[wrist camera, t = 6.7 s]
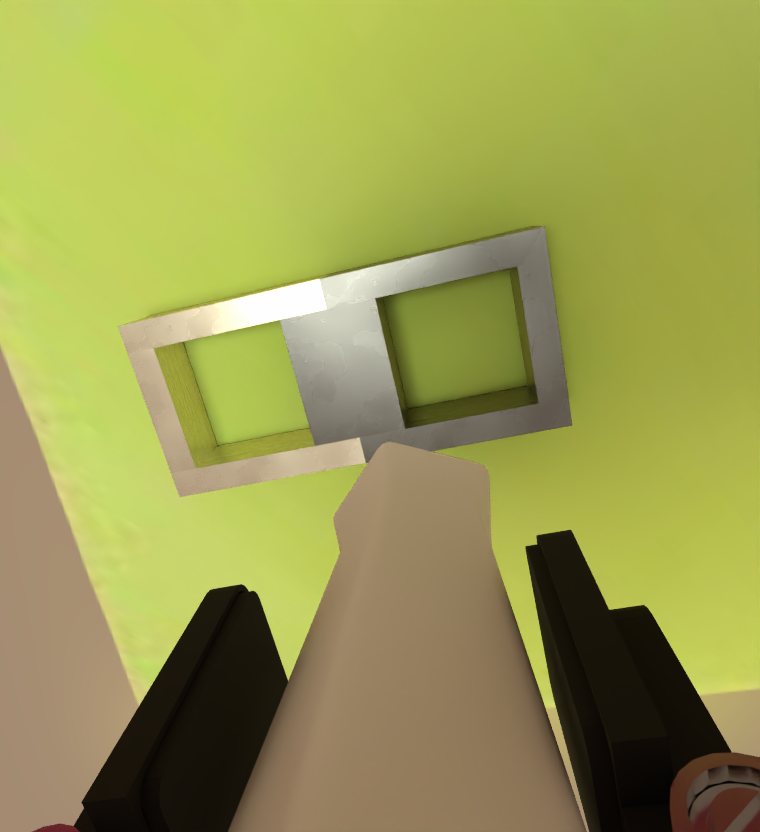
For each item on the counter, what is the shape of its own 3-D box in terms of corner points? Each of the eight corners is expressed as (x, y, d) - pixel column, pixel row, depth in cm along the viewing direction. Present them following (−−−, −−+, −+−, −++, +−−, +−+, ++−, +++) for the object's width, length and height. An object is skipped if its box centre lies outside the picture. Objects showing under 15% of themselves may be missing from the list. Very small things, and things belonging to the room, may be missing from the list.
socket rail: (532, 226, 30) (544, 226, 27) (558, 405, 33) (572, 425, 30) (148, 316, 34) (117, 326, 30) (202, 472, 36) (179, 496, 33)
